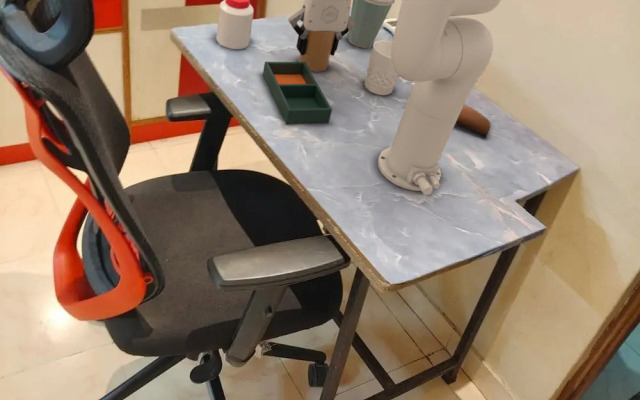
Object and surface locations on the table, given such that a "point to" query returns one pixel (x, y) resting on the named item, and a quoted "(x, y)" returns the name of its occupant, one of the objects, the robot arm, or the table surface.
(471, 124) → the sunglasses case
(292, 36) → the table surface
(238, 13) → the pill bottle
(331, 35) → the wooden cup
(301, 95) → the divided tray
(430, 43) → the robot arm
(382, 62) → the white cup
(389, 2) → the disposable coffee cup
